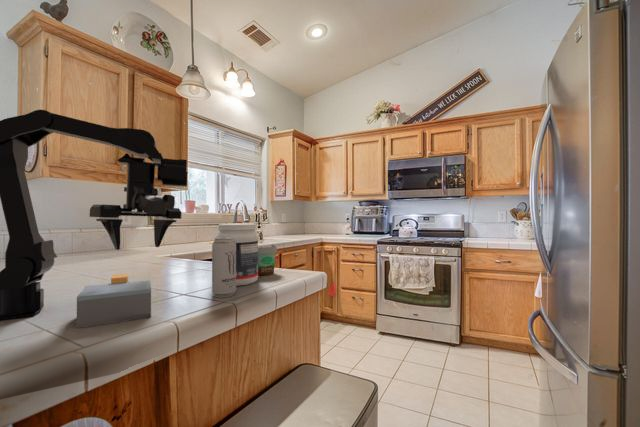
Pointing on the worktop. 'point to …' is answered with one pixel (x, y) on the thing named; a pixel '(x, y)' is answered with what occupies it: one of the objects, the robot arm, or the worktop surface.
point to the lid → (115, 288)
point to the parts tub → (113, 309)
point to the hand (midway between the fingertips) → (138, 248)
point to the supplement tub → (243, 250)
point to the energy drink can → (223, 267)
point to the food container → (266, 260)
